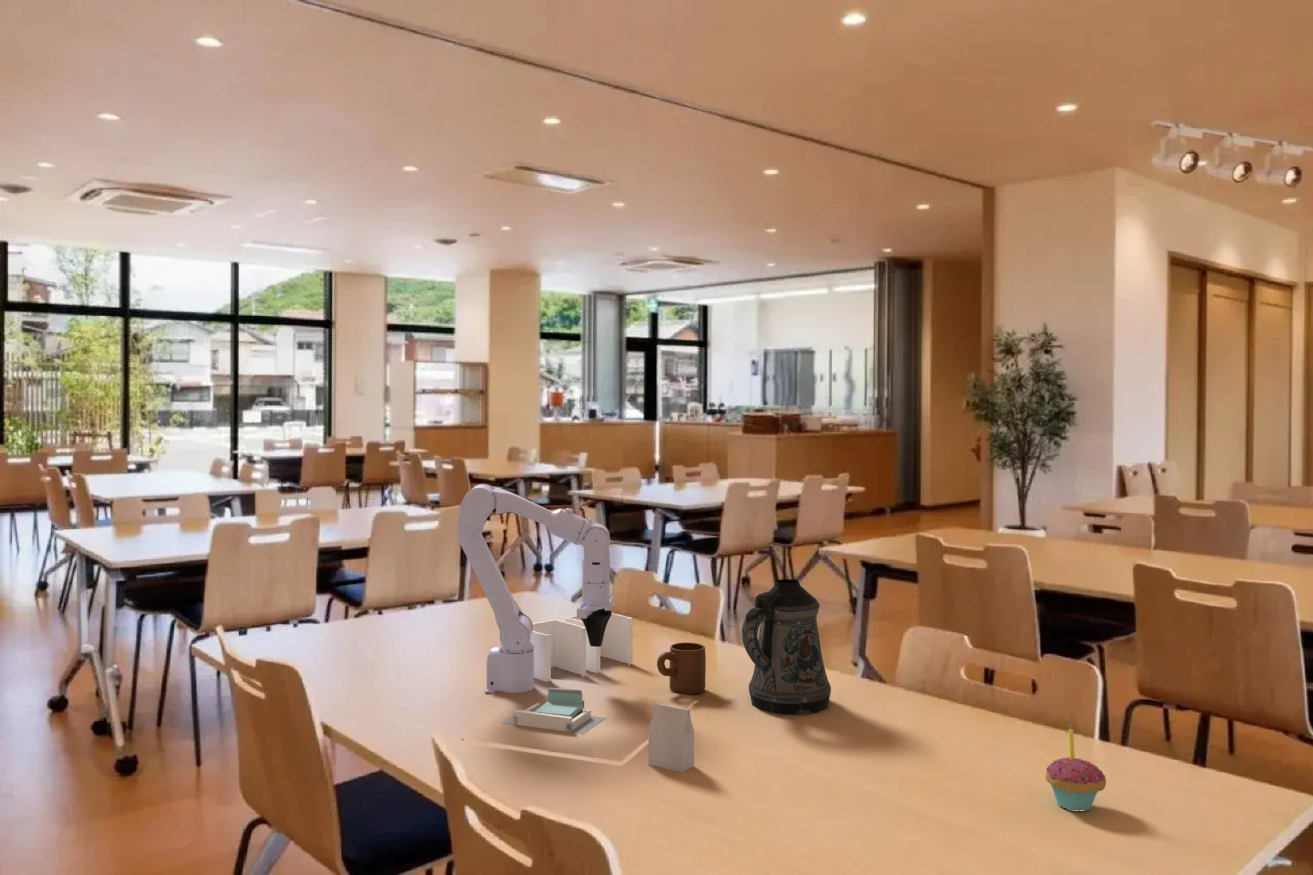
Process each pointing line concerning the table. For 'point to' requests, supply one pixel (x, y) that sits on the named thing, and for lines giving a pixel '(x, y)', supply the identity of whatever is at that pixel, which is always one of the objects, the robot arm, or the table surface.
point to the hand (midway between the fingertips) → (595, 645)
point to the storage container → (579, 645)
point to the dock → (554, 720)
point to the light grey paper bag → (671, 738)
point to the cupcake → (1075, 780)
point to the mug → (685, 668)
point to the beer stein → (786, 652)
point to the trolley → (563, 702)
